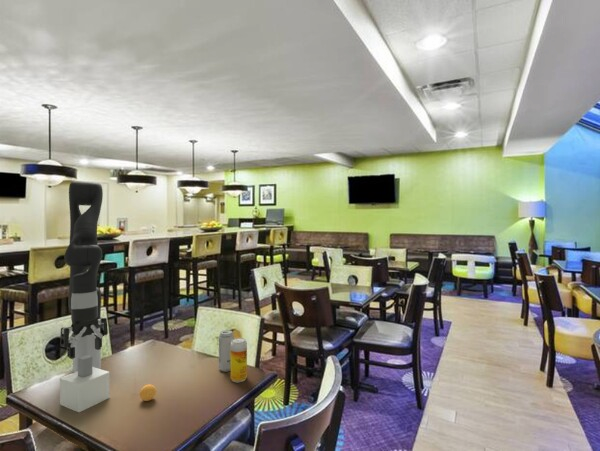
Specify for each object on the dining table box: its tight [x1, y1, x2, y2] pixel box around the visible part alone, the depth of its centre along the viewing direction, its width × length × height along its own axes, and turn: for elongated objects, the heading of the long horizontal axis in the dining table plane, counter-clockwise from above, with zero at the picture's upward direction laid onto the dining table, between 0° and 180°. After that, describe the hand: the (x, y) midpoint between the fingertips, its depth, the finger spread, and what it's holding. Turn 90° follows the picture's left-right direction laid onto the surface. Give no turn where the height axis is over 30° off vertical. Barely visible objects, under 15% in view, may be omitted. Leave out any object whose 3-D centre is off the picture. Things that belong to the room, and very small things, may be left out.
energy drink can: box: [218, 329, 235, 373], centre depth 139 cm, size 6×6×15 cm
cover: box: [59, 355, 111, 413], centre depth 114 cm, size 10×10×15 cm
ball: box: [139, 384, 157, 402], centre depth 115 cm, size 5×5×5 cm
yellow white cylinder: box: [230, 337, 248, 383], centre depth 130 cm, size 6×6×15 cm
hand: (85, 353), depth 114 cm, fingers open, 8 cm apart
